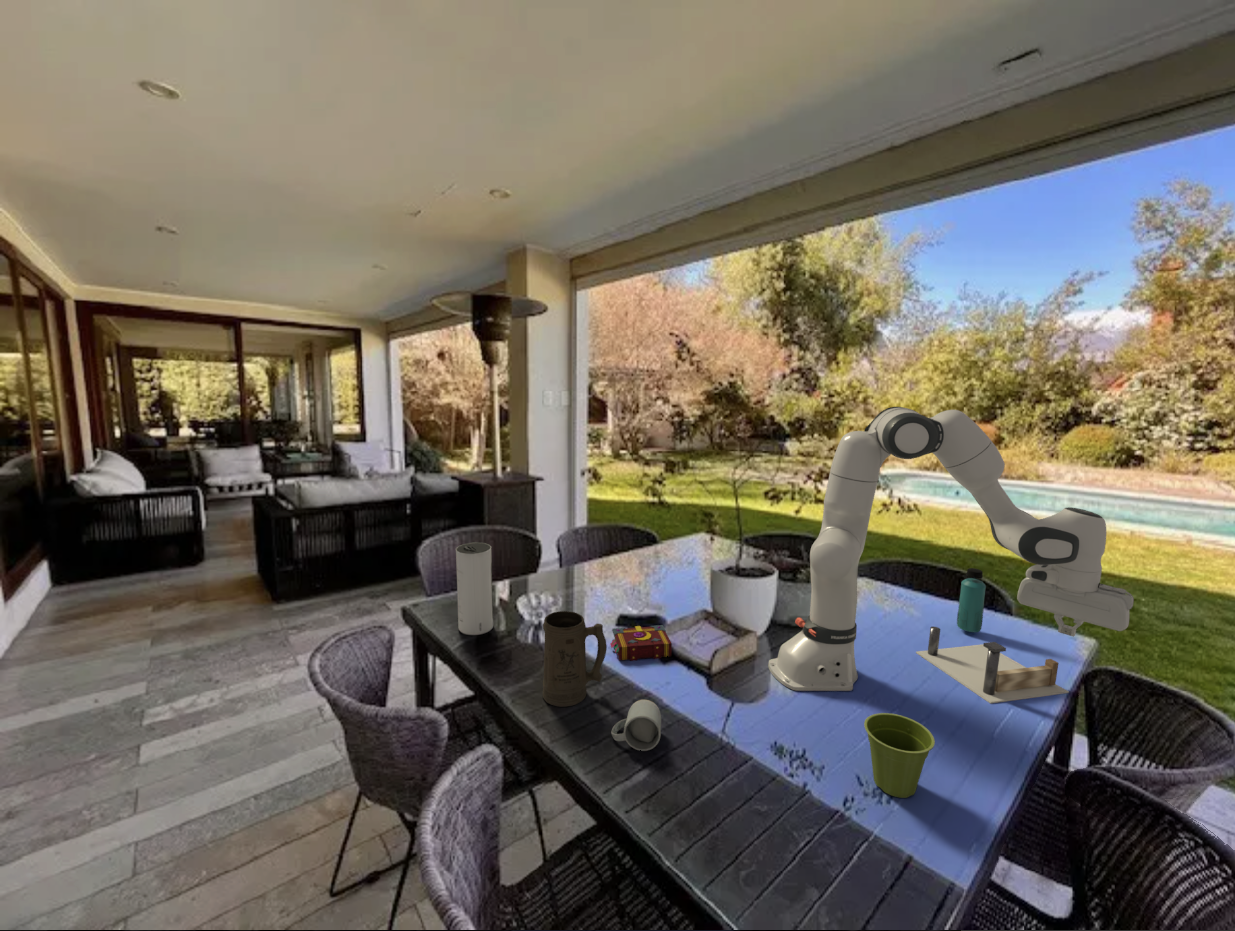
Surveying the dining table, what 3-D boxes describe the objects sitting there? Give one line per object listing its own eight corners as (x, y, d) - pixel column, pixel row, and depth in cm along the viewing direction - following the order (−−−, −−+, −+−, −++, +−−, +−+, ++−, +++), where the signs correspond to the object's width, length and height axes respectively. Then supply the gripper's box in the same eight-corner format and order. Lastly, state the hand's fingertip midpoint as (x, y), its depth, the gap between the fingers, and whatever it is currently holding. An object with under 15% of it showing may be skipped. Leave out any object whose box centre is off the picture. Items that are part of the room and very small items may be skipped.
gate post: (988, 698, 134) (995, 649, 131) (977, 690, 137) (983, 642, 134) (999, 696, 134) (1006, 648, 132) (988, 689, 137) (994, 641, 135)
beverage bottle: (984, 638, 164) (992, 574, 161) (960, 636, 165) (967, 572, 162) (975, 628, 170) (983, 566, 167) (951, 626, 172) (958, 565, 168)
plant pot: (906, 762, 111) (911, 711, 109) (942, 808, 100) (949, 752, 98) (848, 763, 111) (853, 712, 109) (878, 809, 99) (883, 753, 97)
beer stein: (542, 710, 127) (547, 629, 124) (536, 685, 137) (540, 609, 134) (606, 705, 131) (612, 626, 128) (596, 680, 142) (601, 607, 138)
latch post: (931, 657, 152) (934, 630, 151) (925, 653, 155) (928, 626, 153) (939, 656, 153) (942, 630, 152) (932, 652, 155) (935, 626, 154)
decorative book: (672, 658, 152) (672, 641, 151) (614, 663, 149) (614, 645, 148) (662, 639, 163) (662, 623, 162) (608, 642, 160) (608, 626, 159)
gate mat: (990, 703, 131) (990, 702, 131) (915, 652, 155) (915, 651, 155) (1068, 692, 136) (1068, 691, 136) (984, 645, 160) (984, 644, 160)
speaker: (496, 632, 165) (493, 549, 161) (460, 638, 161) (456, 553, 157) (490, 618, 175) (488, 539, 170) (456, 623, 171) (453, 542, 167)
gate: (997, 692, 135) (1000, 669, 134) (990, 687, 137) (993, 665, 136) (1055, 684, 138) (1058, 662, 137) (1047, 680, 140) (1050, 658, 139)
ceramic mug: (661, 727, 122) (661, 695, 120) (660, 752, 114) (660, 718, 112) (613, 724, 123) (613, 693, 121) (609, 749, 115) (609, 715, 113)
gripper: (1138, 588, 121) (1128, 647, 123) (1027, 563, 137) (1020, 615, 139) (1131, 595, 117) (1122, 655, 119) (1018, 568, 133) (1011, 622, 135)
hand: (1066, 633), depth 129 cm, fingers closed
